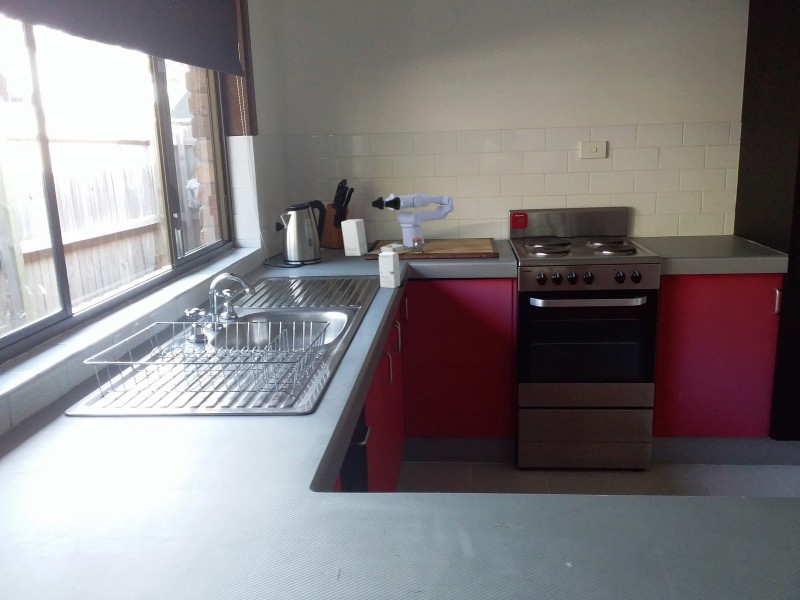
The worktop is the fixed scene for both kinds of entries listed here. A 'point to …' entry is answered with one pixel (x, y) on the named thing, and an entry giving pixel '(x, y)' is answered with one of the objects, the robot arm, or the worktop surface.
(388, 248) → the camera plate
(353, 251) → the skincare box
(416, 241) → the jar with red lid
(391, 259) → the skincare box
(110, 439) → the worktop surface
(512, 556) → the worktop surface
